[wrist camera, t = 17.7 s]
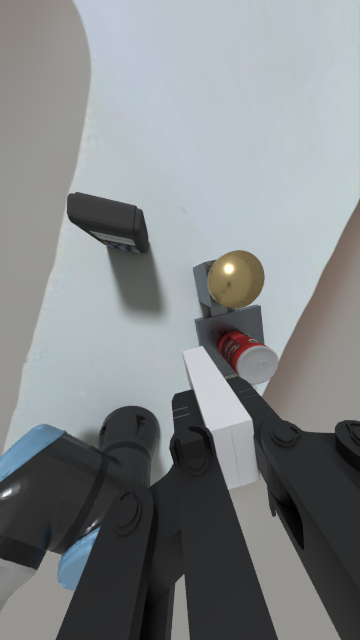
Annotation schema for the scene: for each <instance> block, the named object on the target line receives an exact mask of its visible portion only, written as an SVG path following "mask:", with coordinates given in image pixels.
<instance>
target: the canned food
mask: <svg viewBox="0 0 360 640" xmlns="http://www.w3.org/2000/svg"><path fill="white" fill-rule="evenodd" d="M219 352H220V354H221V356H222V357H223V358H224V359H225V360H226V362H227V363H228V364H229V365H230V366H231V368H232V369H233V370H234V371H235V372H236V373H237V375H238V376H239V377H241V378H243V379H244V380H246V381H248V383H249V384H260V383H263V382H265V381H267V380H269V379H270V378H271V377H272V376H273V374H274V373H275V372H276V370H277V367H278V357H277V355H276V353H275V352H274V351H273V350H271V349H270V348H269V347H267V346H266V345H264V344H262V343H260V342H259V341H257V340H255V339H253V338H252V337H250V336H248V335H247V334H245V333H243V332H240V331H232V332H229V333H227V334H225V335H224V336H223V337H222V338H221V340H220V342H219Z"/></svg>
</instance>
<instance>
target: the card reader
mask: <svg viewBox="0 0 360 640" xmlns="http://www.w3.org/2000/svg"><path fill="white" fill-rule="evenodd" d="M67 214H68V218H69V219H70V221H71V222H72V223H74V224H75V225H76V226H78V227H79V228H81V229H82V230H84V231H85V232H87V233H88V234H89V235H91V236H92V237H94V238H95V239H97V240H98V241H100V242H101V243H103V244H104V245H106V246H108V247H109V248H113V249H116V248H118V249H121V250H123V251H133V252H134V253H139V254H140V253H143V252H144V253H146V252H147V247H148V233H147V228H146V224H145V219H144V215H143V211H142V210H141V209H138V208H137V207H136V206H135V205H130V204H126V203H122V202H118V201H113V200H109V199H105V198H101V197H96V196H92V195H88V194H84V193H79V192H76V193H75V194H73V193H71V194H69V195H68V197H67Z"/></svg>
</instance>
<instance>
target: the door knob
mask: <svg viewBox="0 0 360 640" xmlns="http://www.w3.org/2000/svg"><path fill="white" fill-rule="evenodd" d="M263 285H264V270H263V267H262V265H261V263H260V261H259V260H258V259H257V257H255V256H254V255H253V254H251V253H249V252H246V251H242V250H237V251H232V252H229V253H227V254H225V255H223V256H221V257H219V258H218V259H217V260H216V261H215V262H214V263H213V264H212V266H211V267H210V269H209V272H208V275H207V288H208V291H209V293H210V295H211V297H212V298H213V299H214V300H215V301H216V302H217V303H219V304H220V305H223V306H225V307H229V308H242V307H245V306H247V305H249V304H251V303H252V302H253V301H254V300H255V299H256V298H257V297H258V296H259V294H260V293H261V290H262V288H263Z"/></svg>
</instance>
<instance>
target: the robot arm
mask: <svg viewBox="0 0 360 640" xmlns="http://www.w3.org/2000/svg"><path fill="white" fill-rule="evenodd" d="M182 354H183V358H184V362H185V367H186V371H187V375H188V380H189V384H190V388H191V390H188V391H184V392H180V393H177V394H175V395H174V397H173V400H172V411H173V421H174V434H173V436H172V438H171V440H170V447H169V449H170V452H171V456H172V459H173V462H174V463H173V465H172V467H171V469H170V470H169V472H168V473H167V474H166V475H165V476H164V477H163V478H162V479H160V480H159V481H158V482H156V483H155V484H154V485H152V486H151V487H150V470H151V458H152V456H153V453H154V450H155V447H156V445H157V442H158V438H159V424H158V421H157V419H156V417H155V416H154V415H153V414H152V413H151V412H150V411H149V410H147V409H145V408H142V407H138V406H126V407H122V408H119V409H117V410H115V411H113V412H112V413H111V414H109V415H108V416H107V418H106V419H105V421H104V423H103V425H102V428H101V430H100V434H99V450H98V449H96V448H95V447H93V446H91V445H89V444H87V443H85V442H83V441H81V440H79V439H77V438H75V437H73V436H72V435H70V434H68V433H66V431H65V430H64V431H62V430H60V429H57V428H55V427H53V426H50V425H48V424H42V425H38V426H36V427H34V428H33V429H31V430H30V431H29V432H28V433H26V434H25V435H24V436H23V437H22V438H21V439H20V440H18V441H17V442H16V443H15V444H14V445H13V446H12V447H11V448H10V449H9V450H8V451H7V452H5V453H4V454H3V455H2V456H1V457H0V612H1V611H2V609H3V607H4V605H5V603H6V601H7V599H8V598H9V597H10V596H11V595H12V593H13V592H14V591H15V590H17V589H18V588H19V587H20V586H22V585H23V584H24V583H25V582H27V581H28V580H29V579H30V578H31V577H33V576H34V575H35V573H36V571H37V570H38V568H39V566H40V563H41V562H42V559H43V557H44V556H45V553H46V551H47V550H49V551H52V552H55V553H58V554H61V555H62V558H61V560H60V562H59V564H58V565H59V566H58V575H57V576H58V581H59V583H61V584H62V586H63V587H64V588H66V589H70V590H74V591H75V592H74V595H73V597H72V600H71V602H70V605H69V608H68V610H67V613H66V615H65V617H64V620H63V622H62V625H61V628H60V630H59V633H58V635H57V638H56V640H171V629H172V617H173V604H174V591H175V583H176V581H177V580H178V579H179V578H180V577H181V576H182V575H183V574H184V575H185V586H186V598H187V609H188V622H189V633H190V640H278V638H277V635H276V632H275V629H274V626H273V623H272V620H271V617H270V614H269V611H268V608H267V605H266V602H265V599H264V596H263V593H262V590H261V587H260V584H259V581H258V578H257V575H256V572H255V569H254V566H253V563H252V560H251V557H250V554H249V551H248V548H247V545H246V542H245V539H244V536H243V533H242V530H241V527H240V524H239V521H238V518H237V515H236V512H235V509H234V506H233V503H232V500H231V497H230V494H229V491H228V490H230V489H233V488H236V487H239V486H243V485H246V484H249V483H252V482H255V481H259V480H260V474H259V471H260V472H261V474H262V476H263V478H264V480H265V482H266V484H267V490H268V498H269V506H270V510H271V513H272V516H276V512H277V514H278V516H279V518H280V520H281V522H282V524H283V526H284V528H285V530H286V531H287V534H288V536H289V538H290V540H291V542H292V544H293V546H294V548H295V550H296V552H297V553H298V556H299V557H300V559H301V561H302V563H303V565H304V567H305V569H306V571H307V573H308V575H309V577H310V579H311V581H312V583H313V585H314V587H315V589H316V591H317V593H318V595H319V597H320V599H321V601H322V603H323V605H324V607H325V609H326V611H327V613H328V615H329V616H330V618H331V620H332V623H333V625H334V626H335V628H336V630H337V632H338V634H339V636H340V638H341V640H360V422H359V421H355V420H353V421H352V420H344V421H342V422H339V423H338V424H337V425H336V427H335V433H315V432H305V431H302V430H301V429H299V428H298V427H297V426H296V425H294V424H292V423H290V422H288V421H284V420H281V418H280V417H279V416H278V415H277V414H276V413H275V412H274V410H273V409H272V408H271V407H270V406H269V405H268V404H267V403H266V402H265V401H264V399H263V398H262V397H261V396H260V395H259V394H258V393H257V391H256V390H255V389H253V387H252V386H251V385H250V384H249V383H248V381H246V380H244V379H243V378H241V377H239V376H238V377H234V378H230V379H227V380H225V379H224V377H223V376H222V374H221V373H220V371H219V370H218V368H217V367H216V365H215V364H214V362H213V361H212V359H211V358H210V356H209V355H208V353H207V352H206V350H205V349H204V348H203V346H200V347H196V348H192V349H188V350H184V351H182ZM275 510H276V512H275Z"/></svg>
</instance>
